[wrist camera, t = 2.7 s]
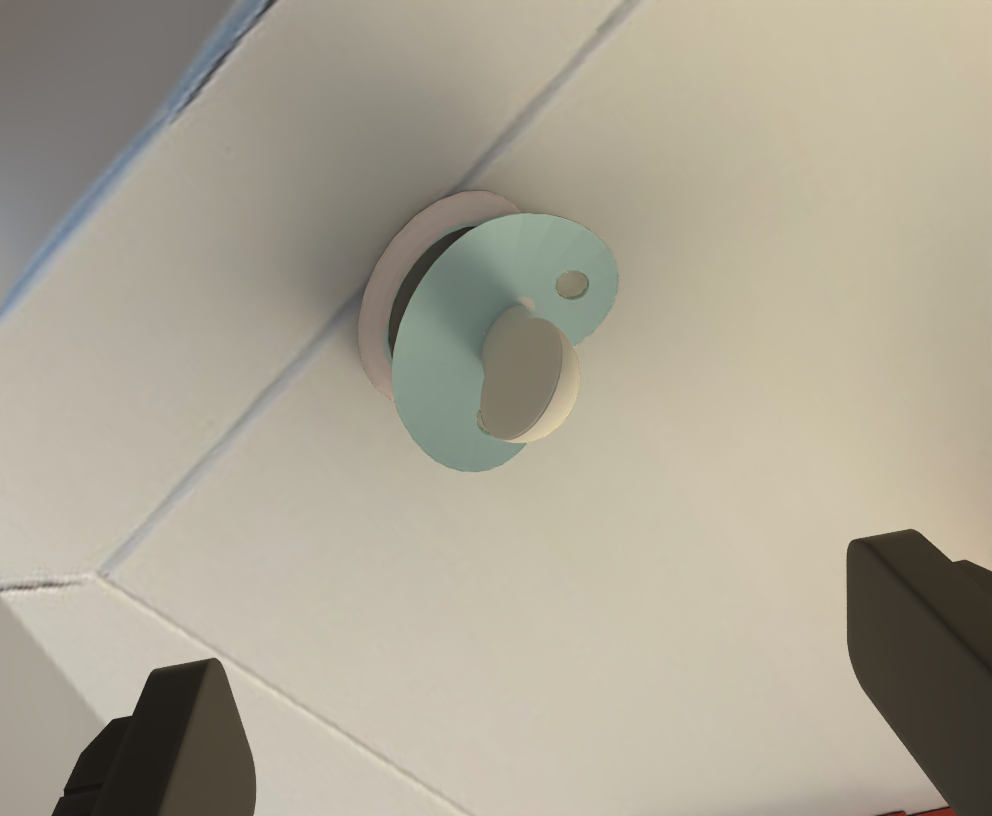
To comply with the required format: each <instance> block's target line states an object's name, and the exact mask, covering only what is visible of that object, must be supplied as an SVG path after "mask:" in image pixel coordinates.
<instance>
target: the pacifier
mask: <svg viewBox="0 0 992 816" xmlns="http://www.w3.org/2000/svg"><path fill="white" fill-rule="evenodd" d="M473 226H477V227H475V228H473V229H472V230H470V231H468V232H467V233H465V234H464V235H463V236H462V237H460V238H459V239H458V240H457V241H455V242H454V243H453V244H452V245H450V246H449V247H448V248H447V249H446V250H445V251H444V253H443V254H442V255H441V256H440V257H439V258H438V259H437V260H436V261H435V262H434V263H433V265H432V266H431V267H430V268H429V270H428V271H427V273H426V274H425V276H424V277H423V279H422V280H421V282H420V283H419V285H418V287H417V288H416V290H415V292H414V294H413V296H412V298H411V300H410V302H409V304H408V306H407V308H406V311H405V313H404V316H403V318H402V320H401V323H400V326H399V330H398V334H397V338H396V342H395V346H394V353H392V350H391V345H390V341H389V319H390V315H391V311H392V307H393V303H394V300H395V298H396V296H397V293H398V291H399V289H400V286H401V284H402V282H403V280H404V279H405V277H406V276H407V274H408V273H409V271H410V270H411V268H412V267H413V265H414V264H415V262H416V261H417V260H418V259H419V258H420V257H421V256H422V255H423V254H424V253H425V251H426V250H427V249H428V248H429V247H430V246H431V245H433V244H434V243H436V242H437V241H439V240H440V239H441V238H443V237H444V236H446V235H447V234H449V233H451V232H454V231H456V230H459V229H462V228H464V227H473ZM567 271H579V272H581V273H583V274H584V275H585V277H586V279H587V285H586V288H585V290H584V291H583V292H582V293H581V294H580V295H578V296H576V297H571V298H569V297H564V296H561V295H560V294H559V293H558V292H557V291H556V281H557V279H558V277H559V276H560V275H561V274H563V273H565V272H567ZM617 286H618V272H617V267H616V262H615V260H614V258H613V255H612V253H611V251H610V250H609V248H608V247H607V246H606V245H605V243H604V242H603V241H602V240H601V239H600V238H599V237H598V236H596V235H595V234H594V233H593V232H592V231H591V230H589V229H587V228H586V227H584V226H582V225H580V224H579V223H577V222H574V221H571V220H568V219H566V218H563V217H560V216H554V215H548V214H535V213H522V212H521V211H520V210H519V209H518V208H517V207H516V206H514V205H513V204H512V203H511V202H510V201H509V200H508V199H507V198H505V197H502V196H499V195H496V194H493V193H491V192H488V191H468V192H460V193H457V194H455V195H452V196H449V197H446V198H444V199H441V200H438V201H437V202H435V203H434V204H432V205H431V206H429V207H428V208H426V209H425V210H423V211H422V212H420V213H419V214H417V215H416V216H414V217H413V218H412V220H411V221H410V222H409V223H408V224H407V225H406V226H405V227H404V228H403V229H402V230H401V231H400V232H399V233H398V234H397V235H396V236H395V237H394V238H393V240H392V241H391V243H390V244H389V246H388V247H387V249H386V250H385V252H384V253H383V255H382V256H381V258H380V259H379V261H378V262H377V264H376V266H375V268H374V271H373V273H372V275H371V278H370V280H369V282H368V285H367V287H366V289H365V292H364V296H363V300H362V305H361V309H360V314H359V319H358V349H359V353H360V357H361V361H362V364H363V368H364V371H365V373H366V374H367V376H368V377H369V379H370V380H371V382H372V384H373V385H374V387H375V388H376V389H377V390H379V391H380V392H381V393H383V394H384V395H385V396H386V397H388V398H389V399H390V400H393V401H395V404H396V408H397V411H398V413H399V415H400V418H401V420H402V422H403V424H404V426H405V427H406V428H407V430H408V431H409V433H410V435H411V436H412V438H413V440H414V441H415V442H416V443H417V444H418V445H419V446H420V447H421V449H422V450H423V451H424V452H425V453H426V454H428V455H429V456H430V457H431V458H433V459H434V460H435V461H437V462H439V463H441V464H443V465H445V466H446V467H448V468H452V469H455V470H459V471H466V472H480V471H485V470H490V469H492V468H495V467H497V466H500V465H502V464H504V463H505V462H507V461H508V460H509V459H511V458H512V457H513V456H515V455H516V454H517V453H518V452H519V451H520V450H521V449H522V448H523V447H524V446H525V445H526V443H527V442H531V441H534V440H538V439H540V438H543V437H544V436H546V435H548V434H550V433H551V432H553V431H554V430H555V429H556V428H557V427H559V426H560V424H561V423H562V422H563V421H564V420H565V419H566V417H567V416H568V414H569V413H570V411H571V409H572V407H573V405H574V403H575V401H576V397H577V394H578V389H579V382H580V372H579V363H578V359H577V355H576V353H575V350H574V348H573V346H575V345H576V344H578V343H580V342H581V341H582V340H583V339H585V338H586V337H587V336H588V335H590V334H591V333H592V332H593V331H594V330H595V329H596V328H597V327H598V325H599V324H600V323H601V322H602V321H603V320H604V318H605V316H606V315H607V313H608V312H609V310H610V309H611V307H612V304H613V302H614V299H615V296H616V293H617ZM480 408H481V416H482V420H483V423H484V425H485V427H486V429H487V431H488V432H487V431H484V430H483V429H482V428H480V427H479V425H478V424H477V414H478V411H479V410H480Z"/></svg>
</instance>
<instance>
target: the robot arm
mask: <svg viewBox="0 0 992 816" xmlns="http://www.w3.org/2000/svg"><path fill="white" fill-rule="evenodd" d="M847 644H848V651H849V656H850V660H851V663H852V666H853V669H854V672H855V675H856V677H857V679H858V681H859V683H860V685H861V687H862V689H863V690H864V692H865V693H866V694H867V696H868V697H869V699H870V700H871V701H872V703H873V704H874V705H875V707H876V708H877V709H878V711H879V712H880V713H881V715H882V716H883V717H884V719H885V720H886V721H887V723H888V724H889V725H890V727H891V728H892V729H893V731H894V732H895V733H896V735H897V736H898V737H899V739H900V740H901V742H902V743H903V744H904V746H905V747H906V748H907V750H908V751H909V752H910V754H911V755H912V756H913V758H914V759H915V760H916V762H917V763H918V764H919V766H920V767H921V768H922V770H923V771H924V772H925V774H926V775H927V776H928V778H929V779H930V780H931V782H932V783H933V785H934V786H935V787H936V789H937V790H938V791H939V793H940V794H941V795H942V797H943V798H944V799H945V801H946V802H947V803H948V805H949V806H950V807H951V809H952V810H953V811H954V813H955V814H956V815H957V816H992V571H990V570H987V569H985V568H983V567H981V566H978V565H976V564H974V563H972V562H970V561H967V560H961V561H956V562H952V561H951V560H950V559H949V558H948V557H946V556H945V555H944V554H943V553H942V552H941V551H940V550H939V549H937V548H936V547H935V546H934V545H933V544H932V543H931V542H930V541H928V540H927V539H926V538H925V537H924V536H923V535H922V534H920V533H919V532H918V531H916V530H914V529H907V530H902V531H897V532H891V533H886V534H881V535H875V536H870V537H865V538H859V539H854V540H852V541H851V542H850V544H849V546H848V549H847ZM255 803H256V775H255V767H254V761H253V757H252V753H251V750H250V746H249V743H248V740H247V737H246V734H245V731H244V728H243V725H242V722H241V719H240V716H239V713H238V709H237V706H236V703H235V700H234V697H233V694H232V691H231V688H230V685H229V682H228V679H227V676H226V673H225V670H224V668H223V666H222V664H221V662H220V661H219V660H218V659H216V658H211V659H205V660H200V661H195V662H189V663H184V664H179V665H173V666H168V667H163V668H157V669H154V670H153V671H152V672H151V673H150V675H149V677H148V679H147V681H146V684H145V686H144V688H143V691H142V693H141V696H140V698H139V700H138V703H137V705H136V707H135V710H134V712H133V715H132V716H127V717H122V718H117V719H113V720H112V721H111V722H110V723H109V724H108V725H107V726H106V727H105V728H104V729H103V730H102V731H101V733H99V735H98V736H97V737H96V738H95V739H94V740H93V741H92V742H91V743H90V744H89V745H88V746H87V748H86V749H85V750H84V751H83V752H82V753H81V755H80V756H79V759H78V761H77V763H76V765H75V767H74V769H73V771H72V773H71V775H70V778H69V780H68V782H67V784H66V786H65V788H64V797H60V799H59V801H58V803H57V805H56V807H55V809H54V812H53V814H52V816H253V815H254V810H255Z"/></svg>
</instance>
